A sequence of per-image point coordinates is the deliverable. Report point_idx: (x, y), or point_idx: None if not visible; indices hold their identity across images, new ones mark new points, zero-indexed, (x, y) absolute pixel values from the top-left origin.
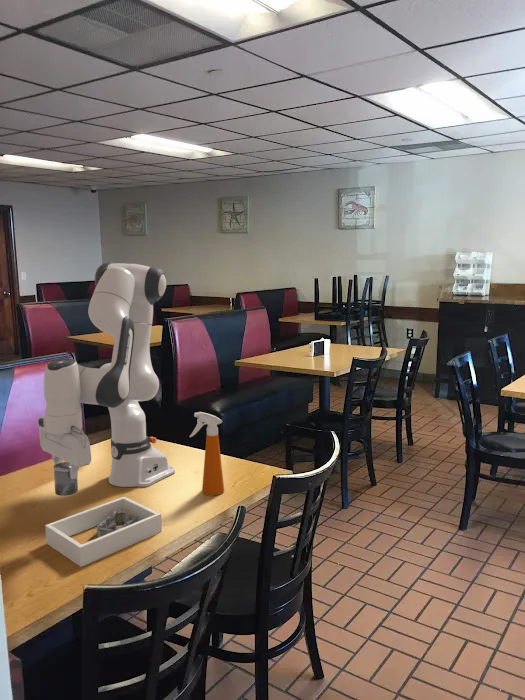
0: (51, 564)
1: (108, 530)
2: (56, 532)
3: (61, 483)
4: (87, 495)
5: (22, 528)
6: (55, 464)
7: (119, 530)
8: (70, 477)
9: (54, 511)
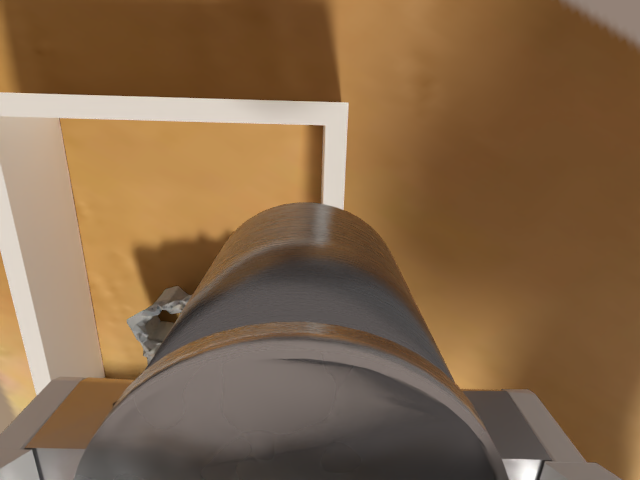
0: (145, 14)
1: (154, 308)
2: (218, 99)
3: (216, 268)
4: (576, 431)
5: (564, 103)
6: (569, 469)
7: (25, 317)
8: (75, 383)
9: (576, 281)
